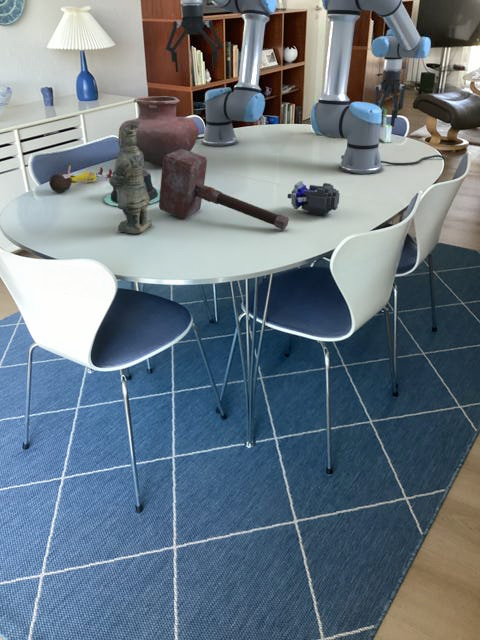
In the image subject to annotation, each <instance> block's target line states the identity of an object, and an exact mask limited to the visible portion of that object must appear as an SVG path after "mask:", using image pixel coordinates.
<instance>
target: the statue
mask: <svg viewBox="0 0 480 640" xmlns="http://www.w3.org/2000/svg"><path fill="white" fill-rule="evenodd" d="M138 127H139V123H138V122H137V121H133V122H131V123H128V124H127V125H126V126H125V127H124V128H123V129H121V130H120V133H119V132H118V139H117V141H118V146H119V152H118V154H117V156H116V160H115V164H114V169H113V172H114V175H113V176H112V175H111V178H108V179H109V180H108V183H109V184H110V186H111V187H112V188H113V187H114V188H115V189H116V192H117V202H118V206H117V209H119V210H122V213H123V214H124V215H125V218H126V219H125V220H122V221H120V222H119V224H118V225H117V231H118V232H121V233H126V234H134V235H136V234H142V233H143V232H145V231H146V230H147V229H148V228H150V227H151V226H152V225H153V223H152V220H150V219H148V216H147V214H148V213H147V212H148V211H147V209H148V206H149V205H150V197H149V195H148V192H147V188H146V184H145V182H144V178H143V169H144V165H145V161H144V156H143V153H142V151H141V150H139V149H138V147H137V146H136V143H137V138H136V131H137V130H138Z"/></svg>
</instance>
